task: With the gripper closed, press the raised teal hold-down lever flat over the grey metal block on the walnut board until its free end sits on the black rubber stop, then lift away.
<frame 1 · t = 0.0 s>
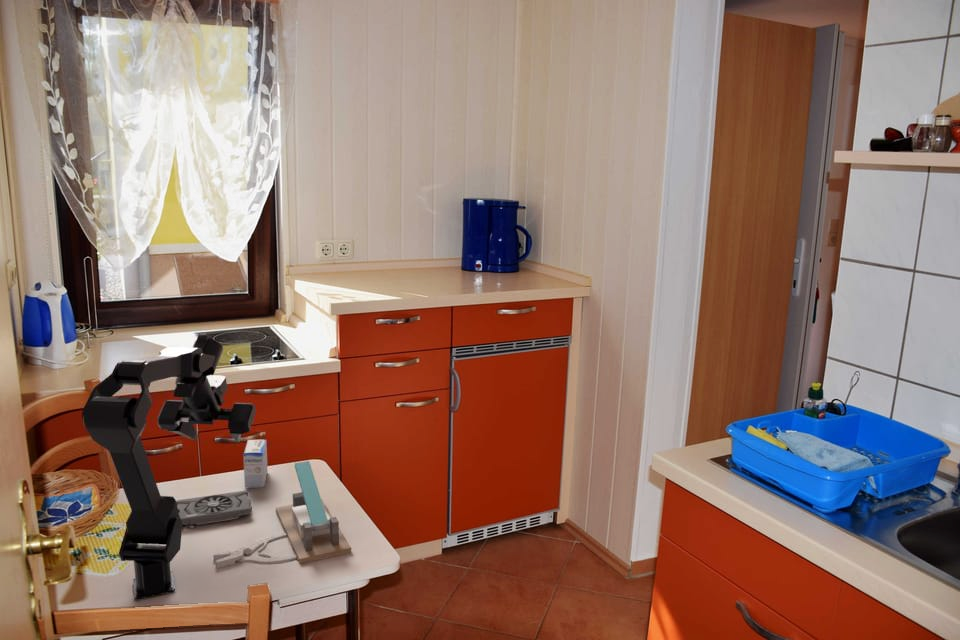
hand: (217, 439, 159), 15 cm above the table, tool tilted 35°, fingers open, 9 cm apart
rubber stop: (302, 514, 159), resting on board
lever: (311, 495, 149), point 8 cm above the table, hinge at 25.0°
pliers: (255, 556, 143), on the table, touching board
board: (311, 531, 152), on the table
graphics card: (210, 520, 157), on the table
medicine box: (256, 481, 174), on the table
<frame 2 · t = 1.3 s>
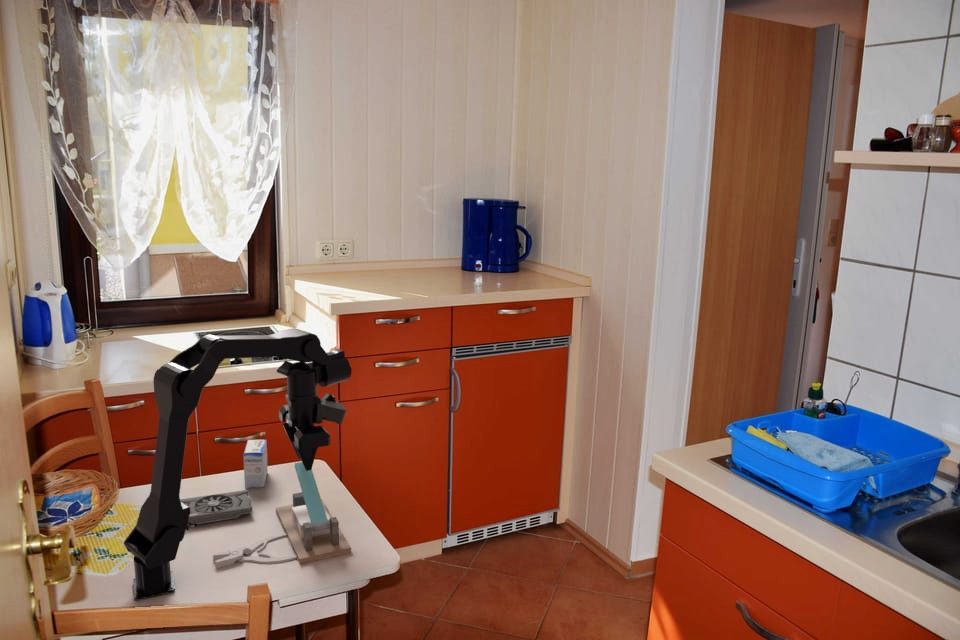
hand: (304, 464, 152), 13 cm above the table, tool pointing down, fingers open, 6 cm apart
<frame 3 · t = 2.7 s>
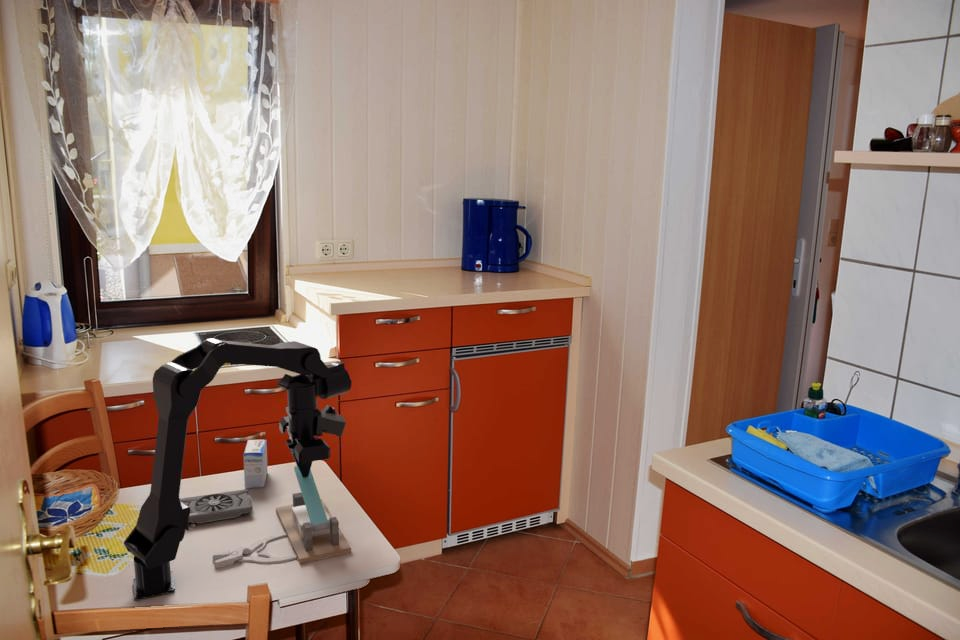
hand: (305, 476, 153), 10 cm above the table, tool pointing down, fingers closed
lever: (311, 496, 150), point 8 cm above the table, hinge at 21.5°, touching gripper
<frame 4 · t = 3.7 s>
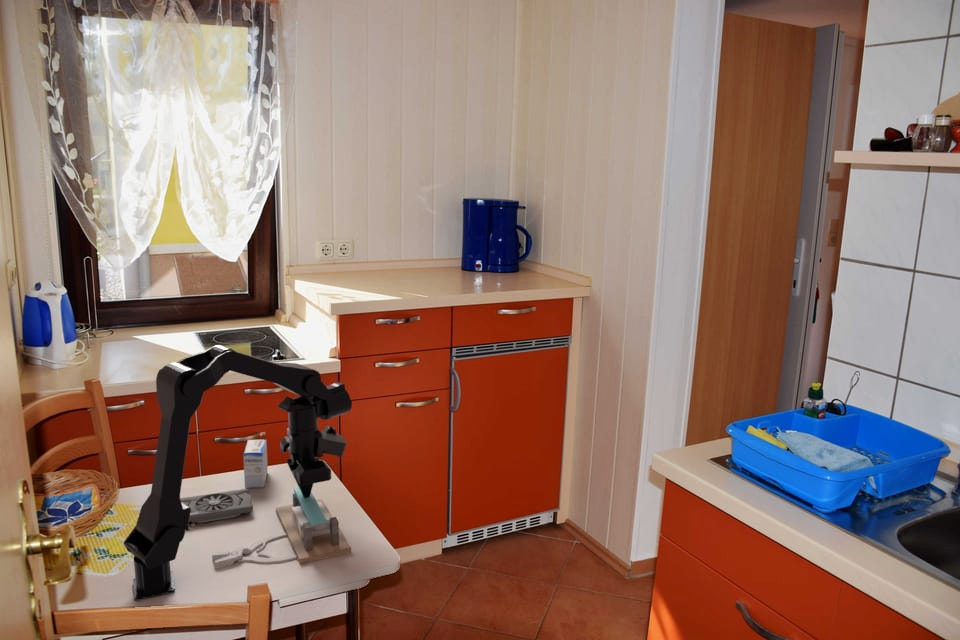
hand: (306, 496, 155), 6 cm above the table, tool pointing down, fingers closed, pressing on lever
lever: (310, 507, 151), point 5 cm above the table, hinge at 1.7°, touching gripper
everything else where it was.
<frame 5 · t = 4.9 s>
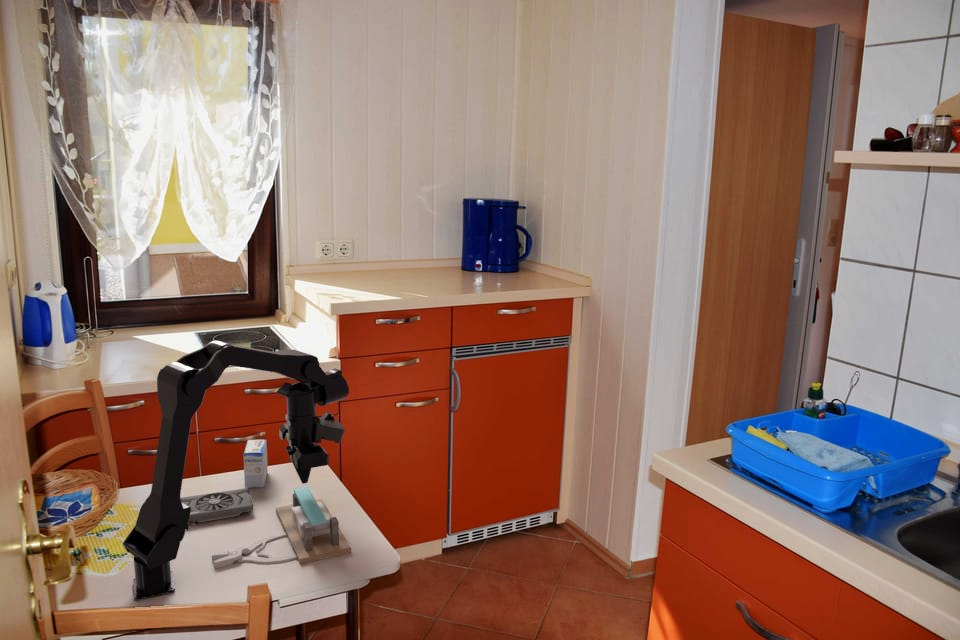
hand: (304, 482, 155), 8 cm above the table, tool pointing down, fingers closed
lever: (310, 508, 151), point 5 cm above the table, hinge at 1.2°
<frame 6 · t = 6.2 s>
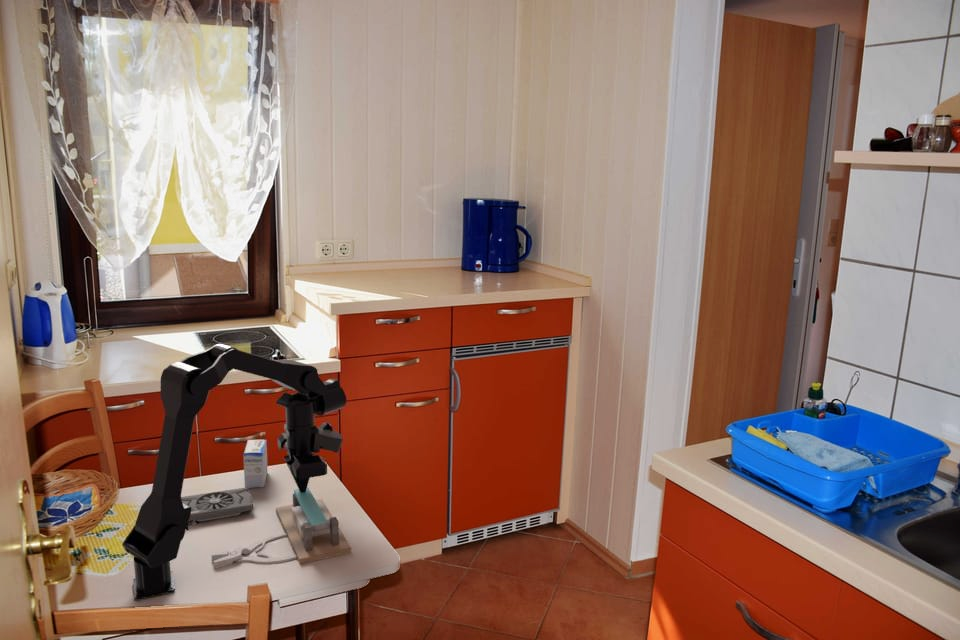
hand: (302, 491, 157), 6 cm above the table, tool pointing down, fingers closed, pressing on lever
lever: (310, 508, 151), point 5 cm above the table, hinge at 0.8°, touching gripper
pliers: (253, 557, 143), on the table
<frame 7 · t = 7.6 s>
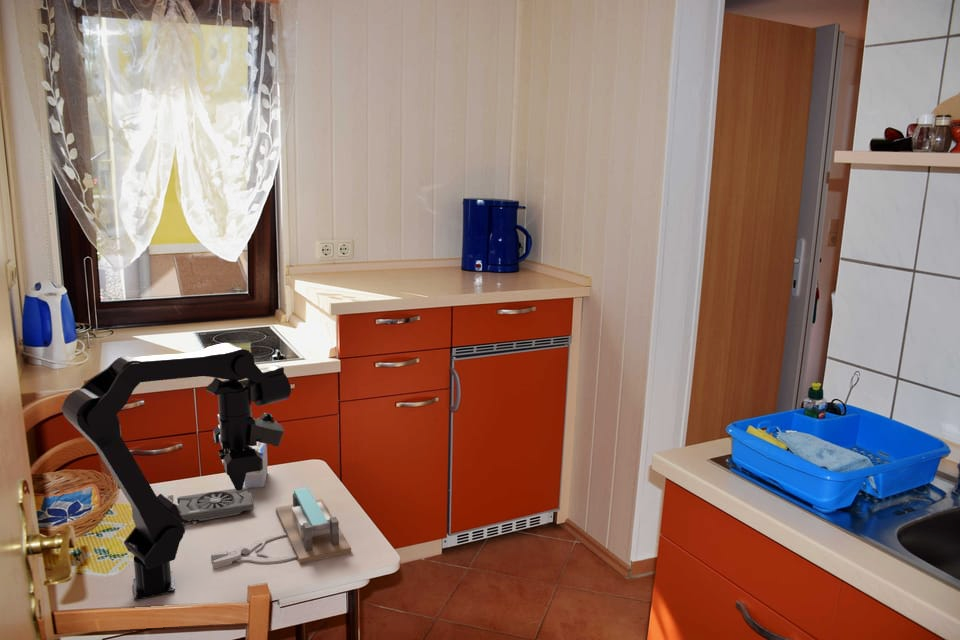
hand: (238, 489, 141), 13 cm above the table, tool pointing down, fingers closed
lever: (310, 508, 151), point 5 cm above the table, hinge at 0.8°
pliers: (253, 557, 143), on the table, touching board
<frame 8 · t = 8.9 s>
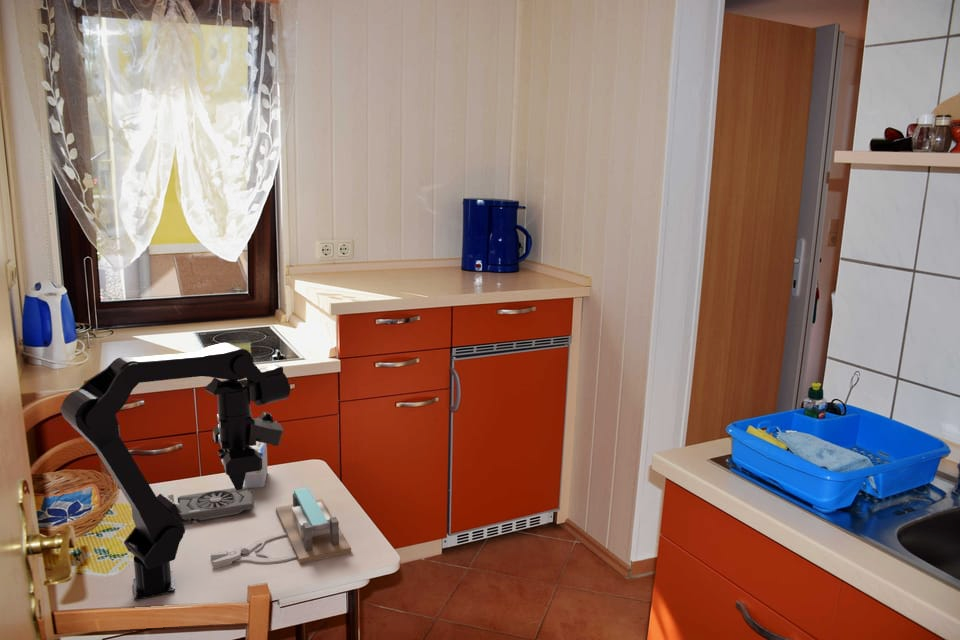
hand: (238, 488, 141), 13 cm above the table, tool pointing down, fingers closed
at the end: lever at +1° (first picture: +25°); the gripper is holding nothing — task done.
